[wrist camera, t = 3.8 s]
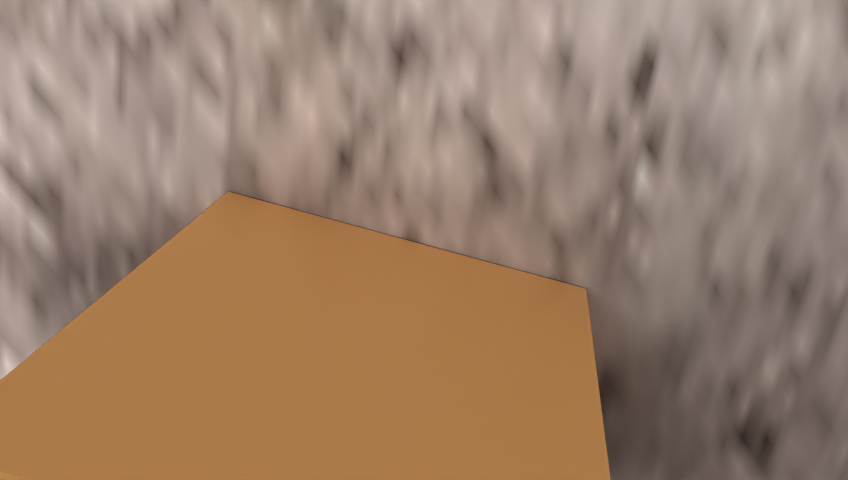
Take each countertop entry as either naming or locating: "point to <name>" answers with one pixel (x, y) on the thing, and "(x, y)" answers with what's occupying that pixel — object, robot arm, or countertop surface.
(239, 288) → the tan matte cube
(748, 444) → the countertop surface
